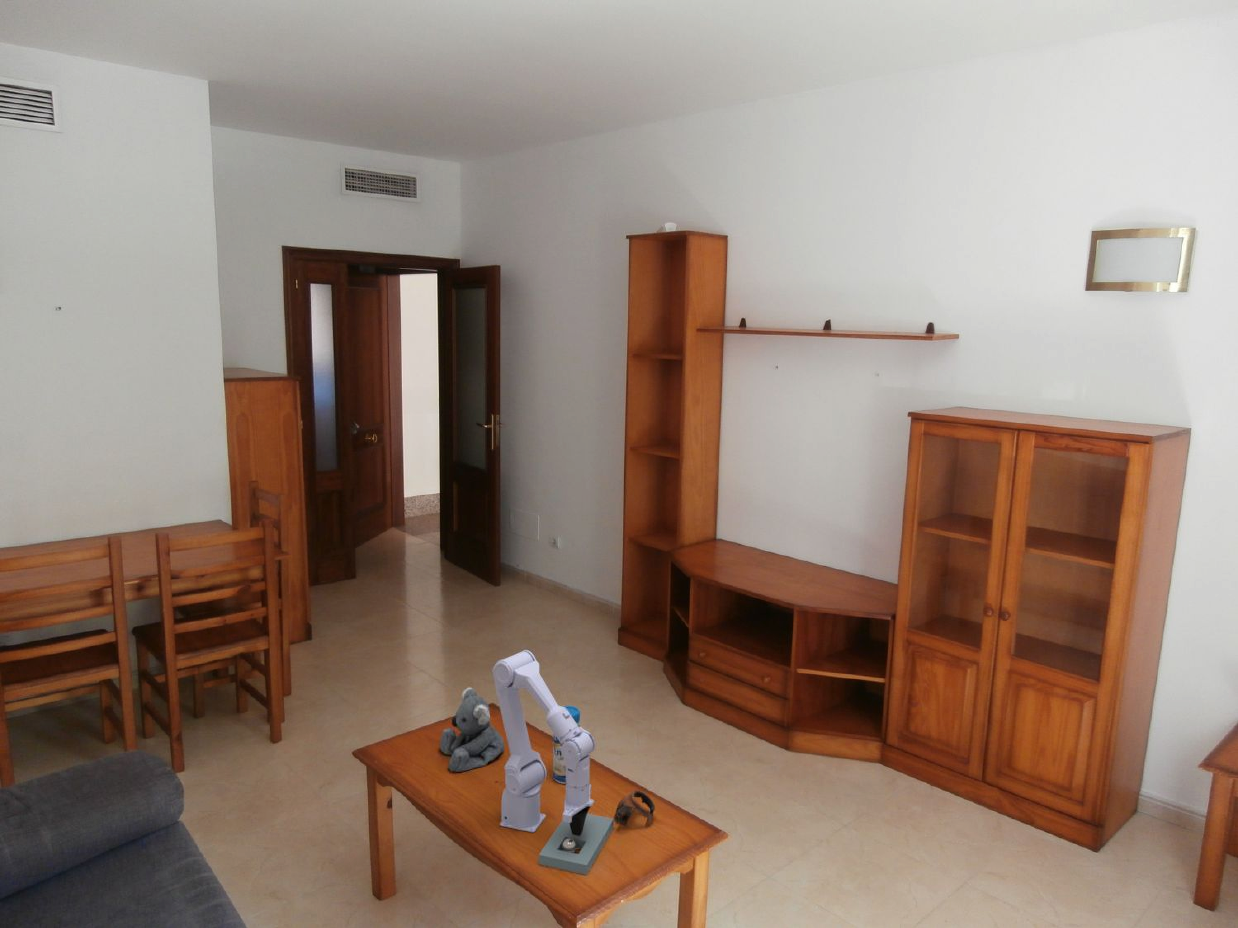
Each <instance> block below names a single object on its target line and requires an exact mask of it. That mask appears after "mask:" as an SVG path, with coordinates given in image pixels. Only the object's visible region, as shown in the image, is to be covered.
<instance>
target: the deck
mask: <svg viewBox="0 0 1238 928" xmlns="http://www.w3.org/2000/svg"><path fill="white" fill-rule="evenodd" d="M614 822H615V819H614V818H612V817H607V816H603V815H602V816H601V815H596V814H592V813H587V816H586V819H585V823H584V827H583V831H582V834H581V835H580V836H577V835H572V832H571V828H570V824H569V823H567V822H563V819H561V822H560V823H559V824H558V826H557V827H556V829H555V830H554V832H553V833H552V835H551V836H550V838H549V839H548V841H547V842H546V844H545V845H544V846H543V848H542V849H541V851H540V853H539V854H538V865H540V866H543V867H544V866H545V867H549V868H552V869H553V868H554V869H558V870H561V871H562V870H563V871H568V872H571V873H576V874H581V875H584V876H587V875H588V873H589V872H590V871H591V869H592V867H593V865H594V863H595V861H596V860H597V858H598V856H599V854H600V852H601V851H602V849H603V848H604V845H605V843H606V842H607V840H608V838H609V837H610V835H611V833H612V831H613V830H614V828H615V827H614V826H615V825H614ZM566 839H573V840H574V841H575V843H576V850H580V851H579V852H578V853H575V852H574V853H570V852H566V851H563V850H562V843H563V841H564V840H566Z"/></svg>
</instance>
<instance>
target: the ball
mask: <svg viewBox="0 0 1238 928" xmlns="http://www.w3.org/2000/svg"><path fill="white" fill-rule="evenodd" d="M576 850H577V849H576V843H575V841H574V840H573V839H566V840H564V841H563V843H562V851H566V852H570V853H575V851H576Z"/></svg>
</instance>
